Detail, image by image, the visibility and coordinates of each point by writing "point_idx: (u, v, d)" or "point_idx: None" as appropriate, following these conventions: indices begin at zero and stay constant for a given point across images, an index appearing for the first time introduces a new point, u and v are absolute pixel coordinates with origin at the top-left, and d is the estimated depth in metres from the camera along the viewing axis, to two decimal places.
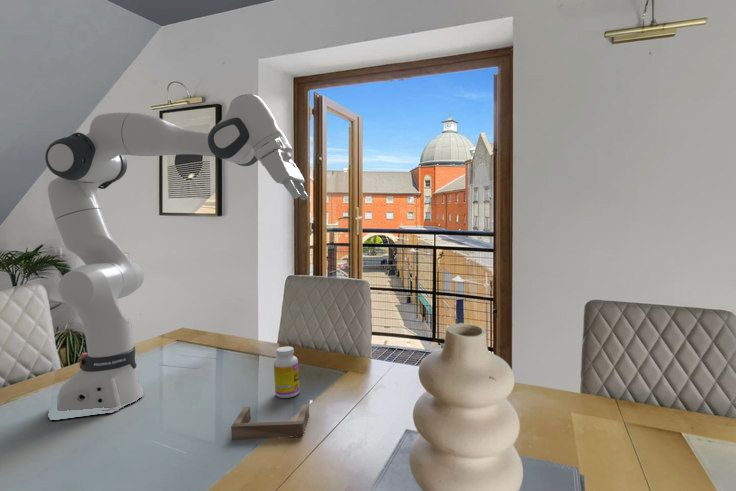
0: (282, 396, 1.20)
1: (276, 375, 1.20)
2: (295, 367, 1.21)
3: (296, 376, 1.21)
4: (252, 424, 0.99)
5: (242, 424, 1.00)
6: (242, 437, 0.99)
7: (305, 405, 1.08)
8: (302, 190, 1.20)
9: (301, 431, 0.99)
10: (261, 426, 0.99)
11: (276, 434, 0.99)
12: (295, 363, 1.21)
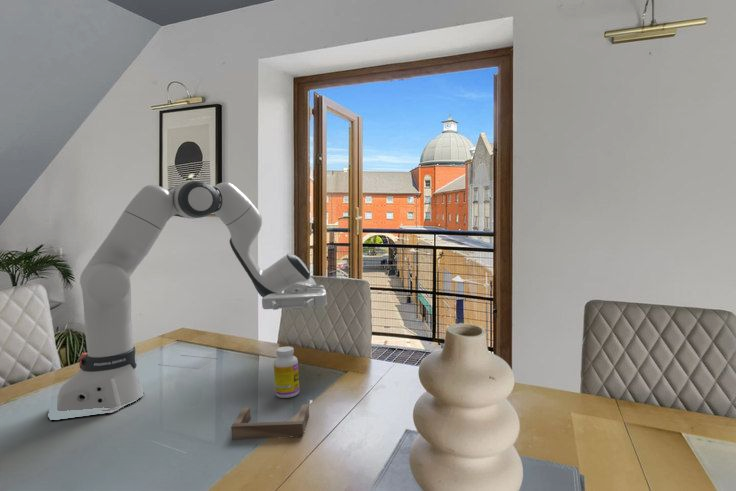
0: (282, 396, 1.20)
1: (276, 375, 1.20)
2: (295, 367, 1.21)
3: (296, 376, 1.21)
4: (252, 424, 0.99)
5: (242, 424, 1.00)
6: (242, 437, 0.99)
7: (305, 405, 1.08)
8: None
9: (301, 431, 0.99)
10: (261, 426, 0.99)
11: (276, 434, 0.99)
12: (295, 363, 1.21)
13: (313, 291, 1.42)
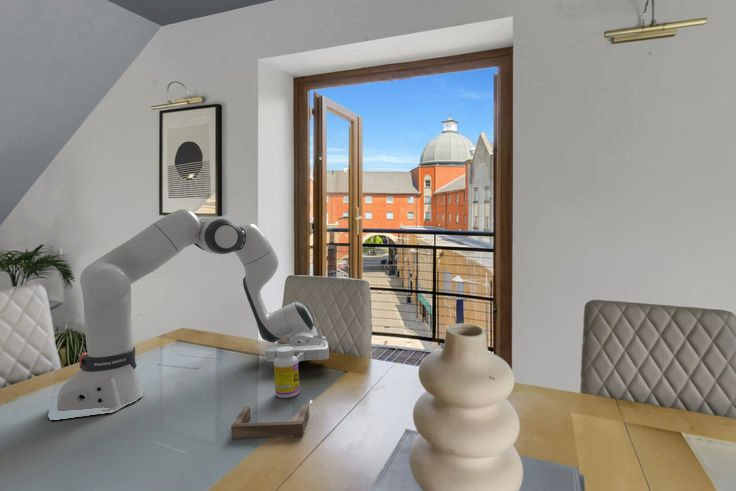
0: (282, 396, 1.20)
1: (276, 375, 1.20)
2: (295, 367, 1.21)
3: (296, 376, 1.21)
4: (252, 424, 0.99)
5: (242, 424, 1.00)
6: (242, 437, 0.99)
7: (305, 405, 1.08)
8: None
9: (301, 431, 0.99)
10: (261, 426, 0.99)
11: (276, 434, 0.99)
12: (295, 363, 1.21)
13: (316, 343, 1.44)
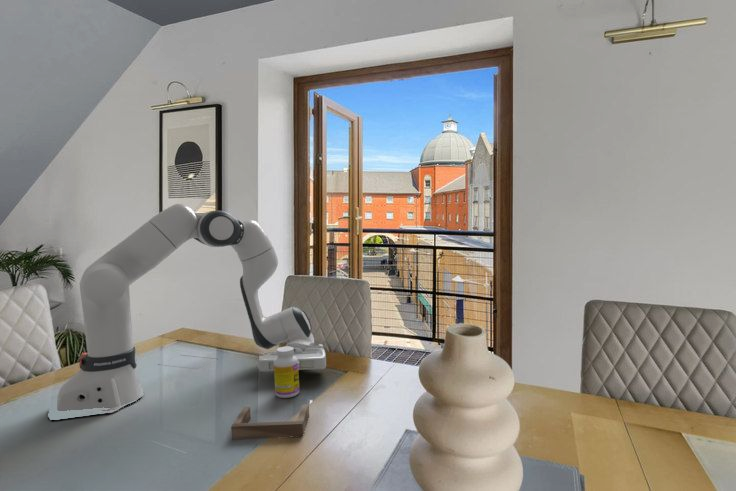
0: (282, 396, 1.20)
1: (276, 375, 1.20)
2: (295, 367, 1.21)
3: (296, 376, 1.21)
4: (252, 424, 0.99)
5: (242, 424, 1.00)
6: (242, 437, 0.99)
7: (305, 405, 1.08)
8: None
9: (301, 431, 0.99)
10: (261, 426, 0.99)
11: (276, 434, 0.99)
12: (295, 363, 1.21)
13: (312, 351, 1.36)
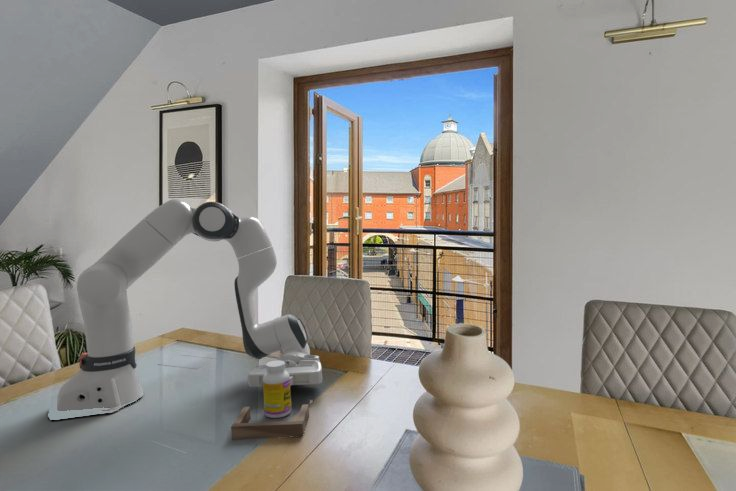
0: (271, 416, 1.08)
1: (265, 392, 1.09)
2: (286, 384, 1.09)
3: (287, 394, 1.09)
4: (252, 424, 0.99)
5: (242, 424, 1.00)
6: (242, 437, 0.99)
7: (305, 405, 1.08)
8: None
9: (301, 431, 0.99)
10: (261, 426, 0.99)
11: (276, 434, 0.99)
12: (285, 380, 1.09)
13: (307, 364, 1.24)
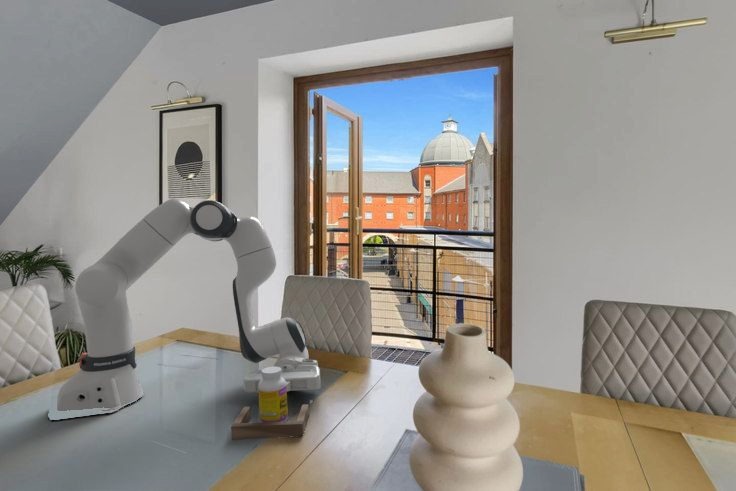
0: None
1: (260, 400, 1.04)
2: (282, 391, 1.05)
3: (283, 402, 1.05)
4: (252, 424, 0.99)
5: (242, 424, 1.00)
6: (242, 437, 0.99)
7: (305, 405, 1.08)
8: None
9: (301, 431, 0.99)
10: (261, 426, 0.99)
11: (276, 434, 0.99)
12: (282, 387, 1.04)
13: (305, 369, 1.20)
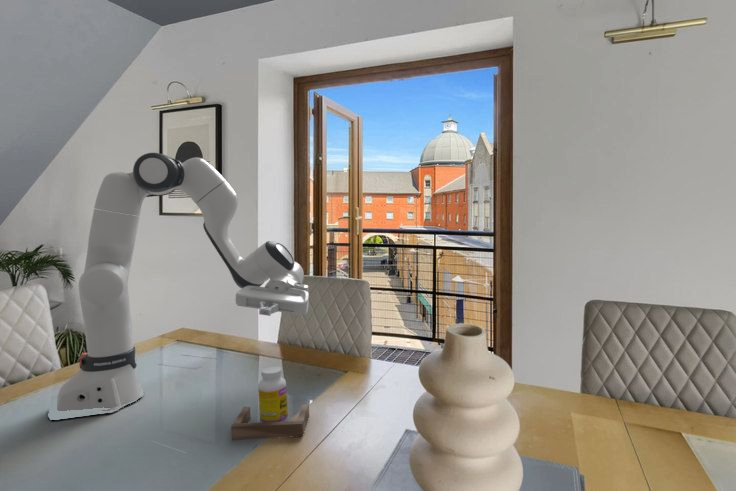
0: None
1: (260, 400, 1.04)
2: (282, 391, 1.05)
3: (283, 402, 1.05)
4: (252, 424, 0.99)
5: (242, 424, 1.00)
6: (242, 437, 0.99)
7: (305, 405, 1.08)
8: None
9: (301, 431, 0.99)
10: (261, 426, 0.99)
11: (276, 434, 0.99)
12: (282, 387, 1.04)
13: (295, 293, 1.25)
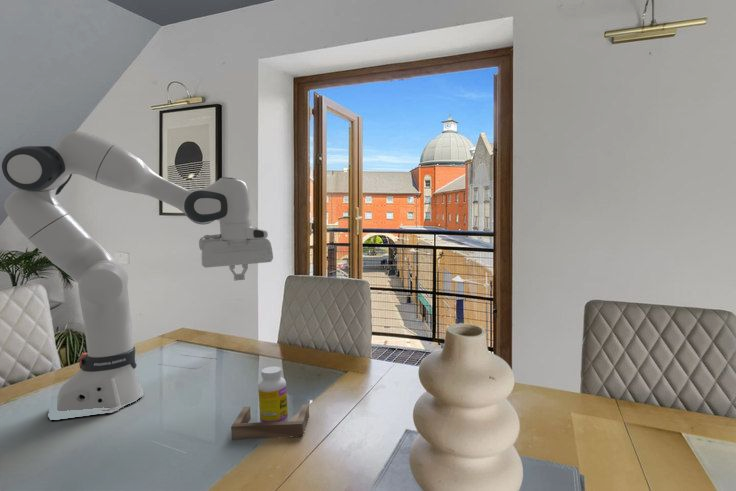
0: None
1: (260, 400, 1.04)
2: (282, 391, 1.05)
3: (283, 402, 1.05)
4: (252, 424, 0.99)
5: (242, 424, 1.00)
6: (242, 437, 0.99)
7: (305, 405, 1.08)
8: None
9: (301, 431, 0.99)
10: (261, 426, 0.99)
11: (276, 434, 0.99)
12: (282, 387, 1.04)
13: (257, 243, 1.30)
